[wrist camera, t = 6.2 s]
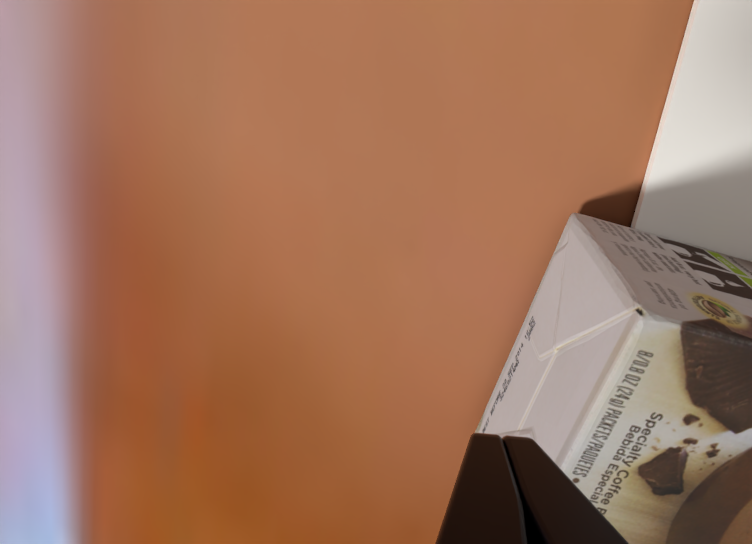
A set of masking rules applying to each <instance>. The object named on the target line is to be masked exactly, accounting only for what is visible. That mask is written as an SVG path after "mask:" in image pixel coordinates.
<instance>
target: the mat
mask: <svg viewBox="0 0 752 544" xmlns="http://www.w3.org/2000/svg"><path fill="white" fill-rule="evenodd" d="M631 228H633V229H637V230H640V231H644V232H648V233H652V234H655V235H659V236H662V237H666V238H669V239H673V240H676V241H680V242H684V243H688V244H692V245H696V246H699V247H702V248H706V249H709V250H712V251H715V252H719V253H722V254H726V255H729V256H733V257H736V258H740V259H744V260H748V261H751V262H752V0H694V3H693V6H692V10H691V13H690V17H689V20H688V24H687V28H686V31H685V35H684V38H683V42H682V45H681V49H680V53H679V56H678V60H677V63H676V67H675V70H674V74H673V78H672V81H671V85H670V88H669V92H668V95H667V99H666V103H665V106H664V110H663V113H662V117H661V120H660V124H659V128H658V131H657V135H656V138H655V142H654V145H653V149H652V153H651V156H650V160H649V163H648V167H647V170H646V174H645V178H644V181H643V185H642V188H641V192H640V195H639V199H638V203H637V206H636V210H635V213H634V217H633V220H632V224H631Z"/></svg>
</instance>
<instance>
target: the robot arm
mask: <svg viewBox="0 0 752 544" xmlns="http://www.w3.org/2000/svg"><path fill="white" fill-rule="evenodd" d="M436 544H629V543H628V542H627V541H626V540H625V539H624V537H623V536H622V535H621V534H620V533H619V532H618V531H617V530H616V529H615V528H614V527H613V525H612V524H611V523H610V522H609V521H608V520H607V519H606V518H605V517H604V516H603V515H602V513H601V512H600V511H599V510H598V509H597V508H596V507H595V506H594V505H593V504H592V503H591V501H590V500H589V499H588V498H587V497H586V496H585V495H584V494H583V493H582V492H581V491H580V489H579V488H578V487H577V486H576V485H575V484H574V483H573V482H572V481H571V480H570V479H569V477H568V476H567V475H566V474H565V473H564V472H563V471H562V470H561V469H560V468H559V467H558V465H557V464H556V463H555V462H554V461H553V460H552V459H551V458H550V457H549V456H548V455H547V453H546V452H545V451H544V450H543V449H542V448H541V447H540V446H539V445H538V444H537V443H536V442H535V441H534V440H533V439H531V438H529V437H520V436H509V435H506V436H504V437H502V438H501V437H500V436H499V435H496V434H486V433H473V434H472V435H471V437H470V440H469V443H468V446H467V449H466V452H465V455H464V458H463V461H462V464H461V467H460V470H459V474H458V477H457V480H456V483H455V486H454V489H453V492H452V495H451V498H450V501H449V504H448V507H447V510H446V513H445V516H444V519H443V522H442V525H441V528H440V531H439V534H438V538H437V541H436Z"/></svg>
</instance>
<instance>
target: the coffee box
mask: <svg viewBox="0 0 752 544" xmlns="http://www.w3.org/2000/svg"><path fill="white" fill-rule="evenodd" d="M475 433H486V434H496V435H499V436H500V437H501V438H502V437H504V436H506V435H509V436H520V437H529V438H531V439H533V440H534V441H535V442H536V443H537V444H538V445H539V446H540V447H541V448H542V449H543V450H544V451H545V452H546V453H547V455H548V456H549V457H550V458H551V459H552V460H553V461H554V462H555V463H556V464H557V465H558V467H559V468H560V469H561V470H562V471H563V472H564V473H565V474H566V475H567V476H568V477H569V479H570V480H571V481H572V482H573V483H574V484H575V485H576V486H577V487H578V488H579V489H580V491H581V492H582V493H583V494H584V495H585V496H586V497H587V498H588V499H589V500H590V501H591V503H592V504H593V505H594V506H595V507H596V508H597V509H598V510H599V511H600V512H601V513H602V515H603V516H604V517H605V518H606V519H607V520H608V521H609V522H610V523H611V524H612V525H613V527H614V528H615V529H616V530H617V531H618V532H619V533H620V534H621V535H622V536H623V537H624V539H625V540H626V541H627V542H628V543H629V544H752V262H751V261H748V260H744V259H740V258H736V257H733V256H729V255H726V254H722V253H719V252H715V251H712V250H709V249H706V248H702V247H699V246H696V245H692V244H688V243H684V242H680V241H676V240H673V239H669V238H666V237H662V236H659V235H655V234H652V233H648V232H644V231H640V230H637V229H633V228H630V227H626V226H623V225H619V224H615V223H612V222H608V221H604V220H601V219H597V218H594V217H591V216H587V215H583V214H579V213H572V214H571V215H570V217H569V220H568V222H567V224H566V226H565V229H564V231H563V233H562V236H561V238H560V240H559V242H558V245H557V247H556V249H555V251H554V254H553V256H552V258H551V261H550V263H549V265H548V267H547V270H546V272H545V274H544V276H543V279H542V281H541V283H540V286H539V288H538V290H537V293H536V295H535V297H534V300H533V302H532V304H531V306H530V309H529V311H528V313H527V316H526V318H525V320H524V323H523V325H522V327H521V330H520V332H519V334H518V336H517V339H516V341H515V343H514V345H513V348H512V350H511V352H510V354H509V357H508V359H507V361H506V363H505V366H504V368H503V370H502V372H501V375H500V377H499V379H498V381H497V384H496V386H495V388H494V391H493V393H492V395H491V397H490V400H489V402H488V404H487V407H486V409H485V411H484V413H483V416H482V418H481V420H480V422H479V424H478V427H477V429H476V431H475Z"/></svg>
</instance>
